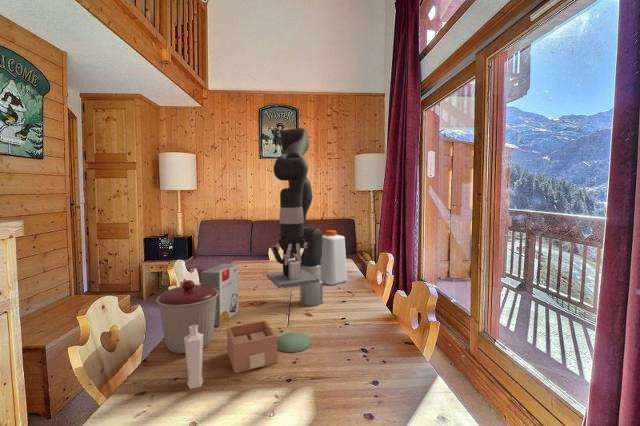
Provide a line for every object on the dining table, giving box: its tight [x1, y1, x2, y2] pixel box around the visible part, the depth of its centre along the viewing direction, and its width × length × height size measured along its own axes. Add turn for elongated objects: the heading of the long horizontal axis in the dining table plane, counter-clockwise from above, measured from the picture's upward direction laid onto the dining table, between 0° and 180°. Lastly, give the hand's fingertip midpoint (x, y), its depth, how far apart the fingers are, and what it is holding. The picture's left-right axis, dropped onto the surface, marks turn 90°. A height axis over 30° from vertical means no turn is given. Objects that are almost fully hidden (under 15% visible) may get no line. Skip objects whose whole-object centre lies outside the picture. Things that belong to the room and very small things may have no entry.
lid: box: [266, 258, 319, 289], centre depth 97 cm, size 13×13×7 cm
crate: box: [226, 319, 278, 374], centre depth 90 cm, size 12×13×8 cm
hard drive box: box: [200, 263, 240, 327], centre depth 118 cm, size 16×8×20 cm, turn 168°
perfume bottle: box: [184, 325, 204, 390], centre depth 77 cm, size 5×4×15 cm
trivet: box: [277, 332, 312, 354], centre depth 99 cm, size 12×12×1 cm
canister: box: [155, 279, 219, 355], centre depth 97 cm, size 18×18×21 cm
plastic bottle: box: [321, 229, 348, 286], centre depth 168 cm, size 15×15×28 cm
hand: (291, 275), depth 98 cm, fingers closed on lid, 3 cm apart
